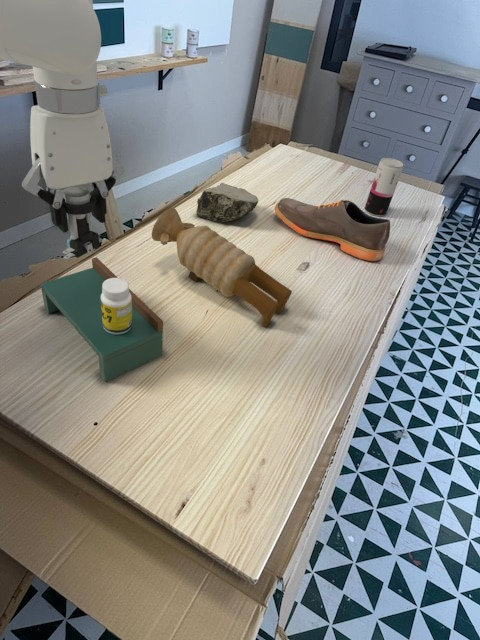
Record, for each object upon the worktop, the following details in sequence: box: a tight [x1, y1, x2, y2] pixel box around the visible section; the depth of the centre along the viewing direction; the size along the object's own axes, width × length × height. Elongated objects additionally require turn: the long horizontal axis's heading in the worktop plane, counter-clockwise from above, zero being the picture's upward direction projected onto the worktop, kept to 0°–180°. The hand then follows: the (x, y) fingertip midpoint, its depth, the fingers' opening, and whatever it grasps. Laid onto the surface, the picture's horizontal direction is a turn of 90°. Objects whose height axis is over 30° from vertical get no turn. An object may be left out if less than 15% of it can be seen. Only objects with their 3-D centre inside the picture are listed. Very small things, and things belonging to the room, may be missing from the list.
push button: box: [62, 186, 101, 260], centre depth 71 cm, size 7×5×10 cm
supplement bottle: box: [101, 277, 132, 334], centre depth 74 cm, size 5×5×8 cm
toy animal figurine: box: [151, 207, 293, 328], centre depth 95 cm, size 10×12×30 cm
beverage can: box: [364, 157, 404, 217], centre depth 133 cm, size 6×7×15 cm
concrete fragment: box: [195, 182, 259, 223], centre depth 121 cm, size 15×10×15 cm
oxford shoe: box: [274, 197, 391, 262], centre depth 119 cm, size 11×31×11 cm, turn 59°
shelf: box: [40, 257, 164, 383], centre depth 81 cm, size 11×22×8 cm, turn 42°
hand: (80, 222), depth 71 cm, fingers closed on push button, 5 cm apart
